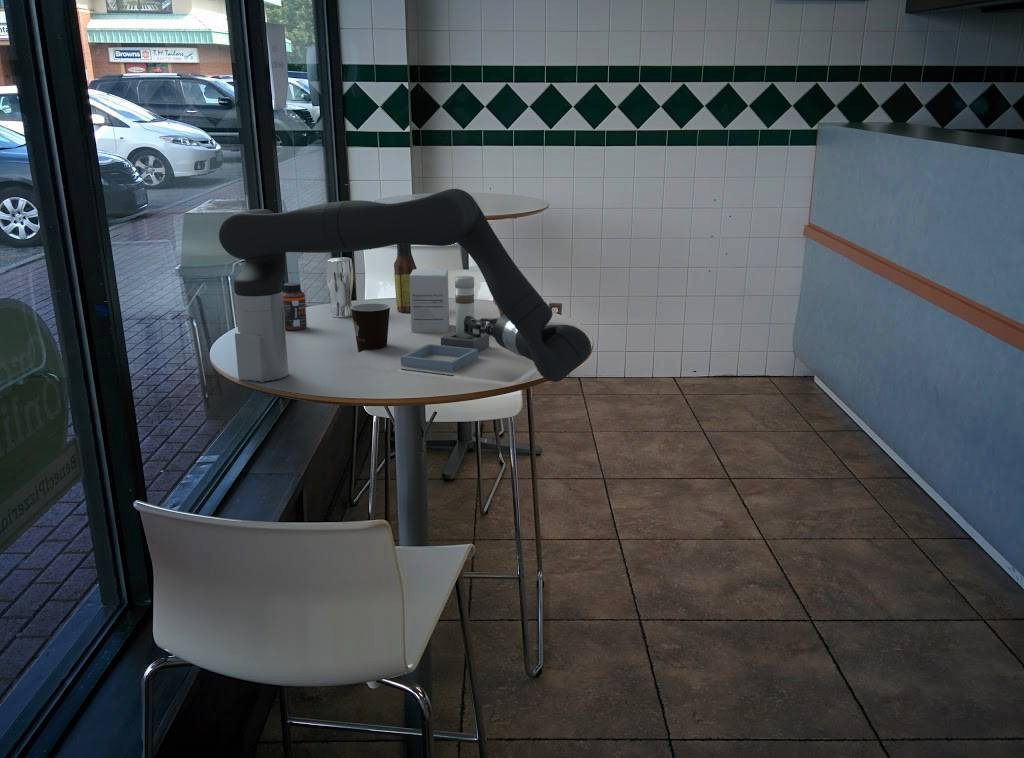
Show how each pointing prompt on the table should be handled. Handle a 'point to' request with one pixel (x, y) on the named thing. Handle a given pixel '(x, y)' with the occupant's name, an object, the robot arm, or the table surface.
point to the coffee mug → (371, 325)
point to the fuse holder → (466, 342)
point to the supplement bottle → (294, 307)
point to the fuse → (464, 303)
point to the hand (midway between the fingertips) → (485, 318)
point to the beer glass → (340, 285)
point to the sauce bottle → (403, 277)
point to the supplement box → (429, 300)
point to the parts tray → (417, 361)
